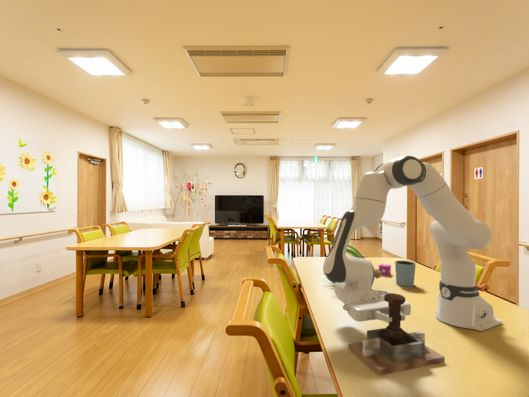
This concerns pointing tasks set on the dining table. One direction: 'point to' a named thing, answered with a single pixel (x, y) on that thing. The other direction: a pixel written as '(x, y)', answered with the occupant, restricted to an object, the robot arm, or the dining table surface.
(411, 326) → the dining table surface
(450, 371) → the dining table surface
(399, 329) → the bolt
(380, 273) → the decorative plant
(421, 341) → the square frame on board
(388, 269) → the puzzle toy
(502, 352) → the dining table surface
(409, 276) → the blue gray cup
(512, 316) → the dining table surface
